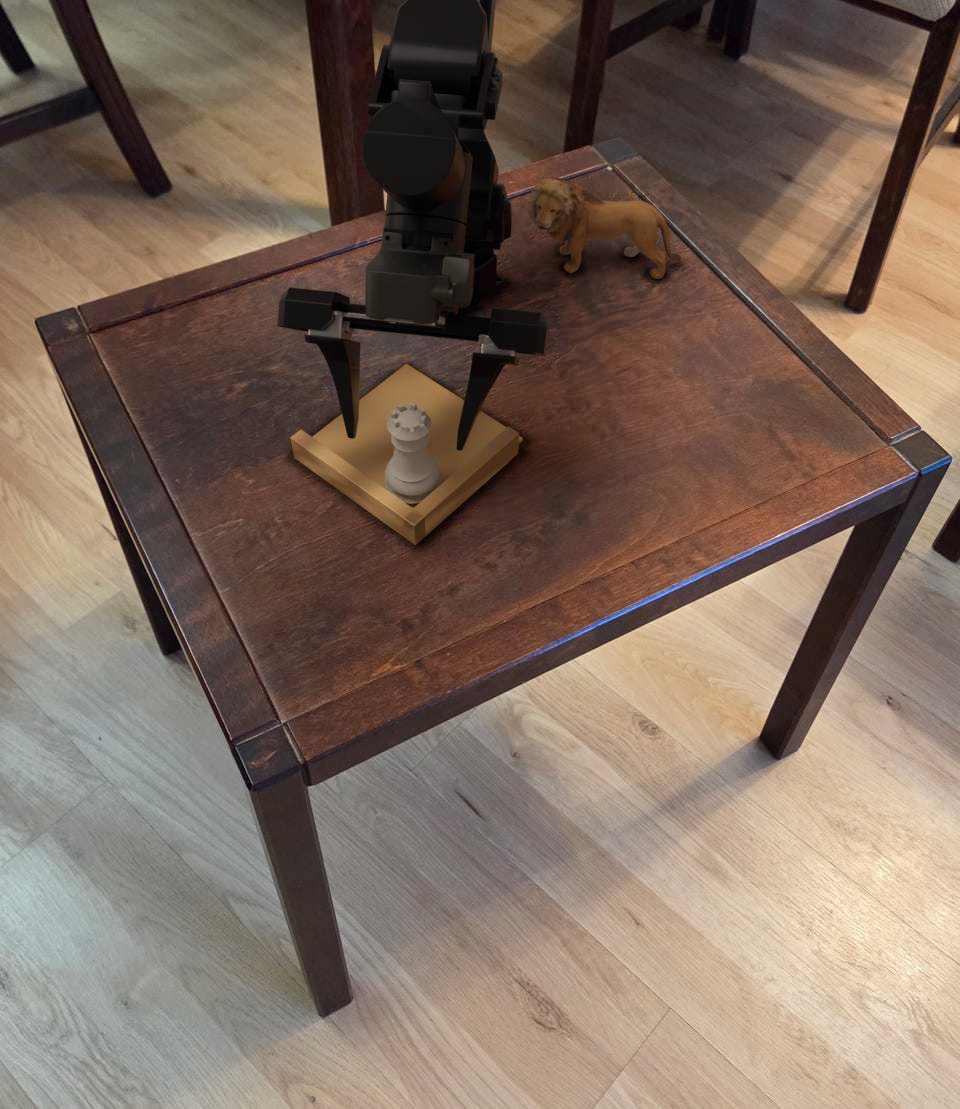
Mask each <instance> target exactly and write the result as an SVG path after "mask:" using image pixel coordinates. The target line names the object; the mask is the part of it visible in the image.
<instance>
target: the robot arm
mask: <svg viewBox="0 0 960 1109" xmlns="http://www.w3.org/2000/svg"><path fill="white" fill-rule="evenodd" d="M496 2H497V0H405V1H404V2H403V3H402V4H400V6H399V7H398V8H397V10H396V12H395V18H394V22H393V27H392V32H391V36H390V41H389V44H387V43H384V44H383V45H382V48H381V52H380V55H379V59H378V63H377V67H376V70H375V75H374V78H373V79H374V80H373V83H372V87H371V91H370V95H369V99H368V104H367V115H369V118H370V120H369V121H368V123H367V126H366V128H365V131H364V132H363V134H362V141H361V150H362V151H361V152H362V158H363V161H364V164H365V167H366V169H367V171H368V173H369V174H370V176H371V178H372V179H373V180H374V181H375V183H377V184H378V186H379V187H380V188H381V189H382V190H383V191H384V193H385V194H386V203H385V214H384V227H383V229H382V230H383V231H382V236H381V245H380V246H381V247H380V249H379V251H378V252H377V254H376V255H375V256H374V257H373V258H372V260H371V261H370V262H369V263H368V264H367V265H366V267H365V301H364V304H359V303H351V299H350V298H351V297H350V296H347V295H344V294H342V293H340V292H337V291H330V290H329V291H328V290H319V289H309V288H299V287H288V288H287V289H286V290H285V291H284V292H283V293H282V294H281V297H280V299H279V302H278V310H277V311H278V313H277V327H279V328H284V329H289V330H294V331H301V332H307V334H304V342H305V343H307V344H313V345H317V347H318V348H319V350H320V352H321V354H322V356H323V358H324V359H325V361H326V364H327V367H328V370H329V372H330V374H331V377H332V380H333V383H334V387H335V391H336V395H337V399H338V403H339V408H340V413H341V414H342V416H343V420H344V424H345V428H346V432H347V436H348V438H351V439H354V438H355V437H356V432H357V426H358V419H359V400H360V379H361V375H360V374H361V372H360V371H361V342H360V341H357V340H356V341H355V340H352V335H353V334H355V330H360V331H369V332H380V333H391V334H398V335H399V334H401V335H410V336H419V337H429V338H438V339H448V340H457V341H467V342H475V343H476V342H478V343H477V346H479V347H480V352H475V351H473V352H472V356H471V363H470V370H469V376H468V377H469V378H468V382H467V385H466V386H467V387H466V390H465V396H464V399H463V400H464V404H463V409H462V413H461V418H460V422H459V427H458V434H457V447H456V449H457V450H460V451H461V450H463V448H464V446H465V444H466V441H467V439H468V437H469V435H470V432H471V430H472V428H473V425H474V423H475V421H476V419H477V416H478V414H479V412H480V411H481V410H482V407H483V405H484V402H485V400H486V398H487V397H488V395H489V393H490V391H491V390H492V388H493V386H494V385H495V383H496V381H497V379H498V378H499V376H500V374H501V373H502V371H503V370H504V368H505V366H508V365H509V366H519V364H520V363H519V361H520V358H518V354H520V355H521V354H522V355H531V356H541V357H542V356H543V357H546V356H547V350H548V349H547V347H548V346H547V345H548V339H549V330H550V323H549V322H548V320H547V318H545V316H544V315H543V314H542V313H541V312H537V311H529V310H518V309H508V308H499V307H492V308H491V313H490V317H486V316H479V315H469V314H468V313H469V312H470V311H472V310H473V309H474V308H476V307H477V306H479V304H481V303H483V301H485V300H486V299H487V298H489V297H490V296H491V295H493V294H494V293H495V292H496V291H498V290H499V289H500V288H502V287H503V286H504V284H505V278H504V277H503V276H501V275H500V274H498V273H497V270H498V269H497V268H498V266H497V265H498V256H497V254H496V253H495V251H501V248H502V244H503V243H504V242H505V241H506V240H509V239H510V238H511V237H512V229H513V228H512V227H513V226H512V225H513V212H512V203H511V202H510V201H509V199H508V192H507V190H506V186H505V184H504V183H499V171H500V170H499V166H498V163H497V160H496V155H495V153H494V151H493V149H492V147H491V144H490V142H489V140H488V138H487V135H486V133H485V130H486V128H487V126H488V125H487V124H488V121H489V120H492V121H495V120H496V116H497V112H498V107H499V102H500V98H501V94H502V87H503V74H504V73H503V71H502V70H501V68H500V67H499V58H498V57H497V56H496V52H494V51H493V52H492V47H493V36H494V26H495V14H496ZM467 314H468V315H467ZM440 317H441V318H444V323H438V322H439V320H440Z"/></svg>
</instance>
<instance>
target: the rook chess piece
mask: <svg viewBox="0 0 960 1109" xmlns="http://www.w3.org/2000/svg"><path fill="white" fill-rule="evenodd" d="M387 428H388V431H389V432H390V433H391V435H392V436H391V440H392V444H393V445H394V446H395V447H394V456H393V457H392V458H391V460H390V461H389V462H388V465H387V468H386V470H385V480H384V481H385V489H386V490H388V491H389V492H391V493H392V494H393V495H395V496H396V497H398V498H399V499H401V500H402V501H403V502H405V503H408V504H417V503H420V502H421V501H423V500H424V499H425V498H426V497H427V496H428V495H430V494H431V493H432V492H433V491H434V490H435V489H436V488H438V487H439V486H440V485H441V477H440V471H439V466H438V464H437V463H436V462H435V460H434V459H433V458H432V457H431V455H430V454H429V453H428V449H427V443H428V440H429V435H428V432H429V431H430V428H431V419H430V417H429V416H428V415H427V414H426V413H425V410H424V409H423V407H420V408H419V409H418V408H417V404H416V403H411V402H410V407H405V406H404V403H402V404H400V405H398V410H397V411H396V410H393V411H392V414H391V416H390V417H389V419H388V422H387Z"/></svg>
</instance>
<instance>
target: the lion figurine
mask: <svg viewBox="0 0 960 1109" xmlns="http://www.w3.org/2000/svg"><path fill="white" fill-rule="evenodd" d="M529 197H530V200H529V202H528V209H527V213H528V216H529V219H530V220H531V222H532V223H533V224H534V225H535V226H536V227H537V228H538V231H539V232H541V233H548V235H549V237H551V239H554V240H555V241H563V242H565V243H564V244H562V245H561V246H560V247H559V253H560V254H561V255H565V256H567V255H570V261H566V262H565V264H564V266H563V269H564V270H565V271H566V272H568V273H569V274H573V273H575V272H577V271H578V270H579V268H580V265H581V263H582V253H583V249H584V246H585V245H586V244H587V242H588V239H592V240H598V241H611V240H612V241H613V240H617V239H619V238H621V237H624V236H626V235H628V236H629V237H630V238H631V240H632V241H633V243H634V246H626V247H625V248H624V249H623V255H624V256H625V257H628V258H632V257H636V256H637V255H638V254H639V253H641V254H643V255H644V256H645V257H646V258H648V259H649V260H651V261H652V262H653V263H654V264H655V265H656V267H655V266H654V267H653V268H652V269H650V271H649V275H650V276H651V278H653V279H655V280H660V279H662V278H663V277H664V275H665V273H666V269H667V268H666V267H667V264H666V263H667V261H666V259H667V258H668V259H669V260H670V261H673V262H675V263H676V262H679V261H681V260H682V255H681V254H678V253H674V252H673V251H672V248H671V238H670V231H669V228H668V223H667V221H666V219H665V217H664V216H663V215H662V214H661V212H660V211H659V210H658V209H657V208H656V207H655V206H654V205H652V204H650V203H648V202H647V201H644V200H640V199H639V200H638V199H636V200H628V201H627V200H625V201H613V200H604V199H599V198H598V197H596V196H595V194H594V193H593V192H592V191H591V190H590V189H588V188H585V187H584V186H580V184H579V183H573V182H572V181H571V180H570V179H565V178H560V177H546V178H545V177H544V178H542V179H540V180H539V181H538V182H537V183H536V184H535V186H534V187H532V188H531V189H530V195H529ZM658 229H660V233H661V237H662V241H663V246H664V247H663V248H664V251H665V254H666V255H665V254H664V253H663V252H662V251H661V250H660V247H659V245H658V241H657V236H658V235H657V234H658ZM666 256H667V258H666Z"/></svg>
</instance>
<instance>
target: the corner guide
mask: <svg viewBox="0 0 960 1109" xmlns="http://www.w3.org/2000/svg"><path fill="white" fill-rule="evenodd" d="M410 402H411V403H416V404H417V408H418V409H419V408H420V407H423V409H424V410H425V413H426V414H427V415H428V416H429V417H430V419H431V428H430V431H429V432H428V435H429V440H428V443H427V449H428V453H429V454H430V455H431V457H432V458H433V459H434V460H435V462H436V463H437V464H438V466H439V471H440V477H441V485H440V486H439V487H438V488H436V489H435V490H434V491H433V492H432V493H431V494H430V495H428V496H427V497H426V498H425V499H424V500H423V501H421V502H420V503H417V504H408V503H405V502H403V501H402V500H401V499H399V498H398V497H396V496H395V495H393V494H392V493H391V492H389V491H388V490H386V489H385V481H384V480H385V470H386V468H387V465H388V462H389V461H390V460H391V458H392V457H393V456H394V447H395V446H394V445H393V444H392V440H391V436H392V435H391V433H390V432H389V431H388V428H387V422H388V419H389V417H390V416H391V414H392V411H393V410H396V411H397V410H398V405H400V404H402V403H404V406H405V407H410ZM463 404H464V399H463V398H461V397H460V396H458V395H456V394H455V393H453V392H452V391H451V390H448V389H447V388H445V387H444V386H442V385H440V384H439V383H437V382H436V381H434V380H433V379H431V378H430V377H428V376H427V375H425V374H424V373H422V372H420V371H419V370H417V369H415V368H414V367H413V366H411V365H409V364H408V363H406V364H404V365H403V366H402V367H400V368H399V369H398V370H397V371H395V372H394V373H392V374H391V375H390V376H388V377H387V378H386V379H384V381H382V382H381V383H379V384H378V385H376V387H374V388H373V389H372V390H370V392H368V393H367V394H365V395H364V396H363V397H361V398H359V419H358V426H357V432H356V437H355V438H354V439H351V438H348V436H347V432H346V428H345V424H344V420H343V416H342V413H341V414H340V415H338V416H336V418H334V419H333V420H332V421H330V422H329V423H328V424H327V425H325V426H324V427H323V428H322V429H320V430H319V431H317V432H316V433H315V434H314V435H313V436H312V435H310V434H309V433H308V432H306V431H304V430H303V429H299V430H298V431H297V432H295V433H294V434H293V435H291V436H290V443H291V448H292V453H293V458H294V459H295V460H296V461H298V462H299V463H301V465H303V466H305V467H306V468H308V469H309V470H310V471H311V472H313V473H315V474H316V475H317V476H318V477H320V478H321V479H322V480H324V481H325V482H327V483H328V484H330V485H331V486H333V487H334V489H337V491H339V492H340V493H342V494H343V495H344V496H346V497H347V498H349V499H351V500H352V501H353V502H355V503H356V504H357V505H359V506H360V507H362V508H363V509H364V510H366V511H367V512H369V513H370V514H371V515H372V516H374V517H375V518H377V519H378V520H379V521H381V522H382V523H384V524H385V525H387V527H389V528H390V529H392V530H393V531H395V532H396V533H398V534H399V535H400V536H402V537H403V538H404V539H406V540H407V541H408V542H410V543H411V544H413V545H414V546H417V545H418V544H419V543H420V542H421V541H423V539H424V538H426V536H428V535H429V534H430V533H431V532H432V531H433V530H435V529H436V528H437V527H438V526H439V525H440V524H441V523H442V522H443V521H445V520H446V519H447V518H448V517H449V516H450V515H451V514H453V512H454V511H456V510H457V509H458V508H459V507H460V506H461V505H462V504H463V503H464V502H466V501H467V500H468V499H469V498H470V497H471V496H472V495H474V494H475V493H476V492H477V491H478V490H479V489H480V488H482V486H483V485H485V484H486V483H487V482H488V481H490V479H491V478H492V477H494V476H495V475H496V474H497V473H498V472H500V470H502V469H503V468H504V467H505V466H506V465H507V464H508V463H509V462H511V461H512V460H513V459H514V458H515V457H516V456H518V454H519V445H521V443H522V442H524V438H523V437H522V436H520V432H518V431H517V430H515V429H514V428H512V427H511V426H509V425H508V426H505V425H504V424H502V423H500V422H499V421H497V420H495V419H494V418H492V417H491V416H489V415H488V414H486V413H485V412H483V411H481V410H480V412H479V414H478V416H477V419H476V421H475V423H474V425H473V428H472V430H471V432H470V435H469V437H468V439H467V441H466V444H465V446H464V448H463V450H461V451H460V450H457V449H456V447H457V434H458V427H459V422H460V418H461V413H462V409H463Z"/></svg>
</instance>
